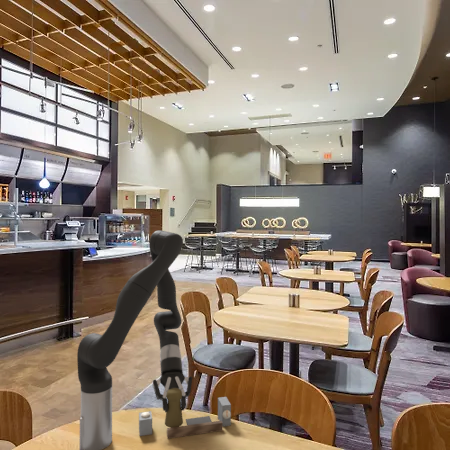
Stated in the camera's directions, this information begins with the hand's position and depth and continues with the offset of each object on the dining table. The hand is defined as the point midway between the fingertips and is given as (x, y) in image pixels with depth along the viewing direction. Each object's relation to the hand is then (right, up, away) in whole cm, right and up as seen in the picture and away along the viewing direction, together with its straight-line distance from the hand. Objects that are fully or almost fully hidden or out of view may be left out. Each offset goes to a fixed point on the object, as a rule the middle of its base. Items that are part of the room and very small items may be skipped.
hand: (174, 410), depth 121 cm
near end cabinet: (-10, -7, 0) cm, 12 cm away
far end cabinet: (+16, -7, +6) cm, 19 cm away
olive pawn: (-1, -5, +2) cm, 6 cm away
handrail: (+7, -7, -1) cm, 10 cm away
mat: (+8, -7, +4) cm, 11 cm away
